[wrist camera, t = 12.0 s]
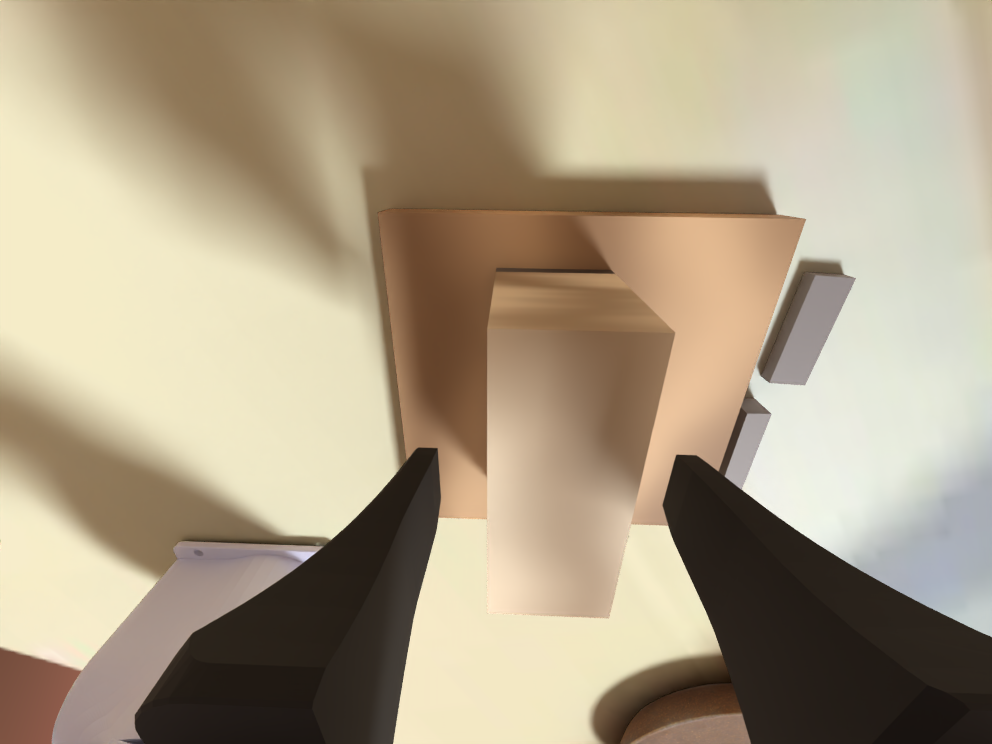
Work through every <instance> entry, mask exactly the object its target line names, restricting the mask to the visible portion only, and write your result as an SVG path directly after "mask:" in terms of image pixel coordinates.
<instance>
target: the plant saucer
mask: <svg viewBox="0 0 992 744" xmlns="http://www.w3.org/2000/svg"><path fill="white" fill-rule="evenodd" d="M620 744H751V742H750V739H749V735H748V732H747V729H746V725H745V722H744V719H743V715H742V712H741V709H740V706H739V703H738V700H737V697H736V693H735V690H734V687H733V684H732V683H720V684H710V685H703V686H697V687H692V688H687V689H684V690H680V691H677V692H674V693H671V694H668V695H666V696H664V697H661V698H659V699H657V700H655V701H653V702H652V703H650V704H648V705H647V706H645V707H644V708H643V709H641V710H640V711H639V712H638V713H637V714H636V715H635V716H634V718H633V719H632V720H631V722H630V723H629V725H628V727H627V729H626V731H625V733H624V735H623V737H622V740H621V742H620Z"/></svg>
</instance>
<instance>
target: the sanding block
mask: <svg viewBox="0 0 992 744" xmlns="http://www.w3.org/2000/svg"><path fill="white" fill-rule="evenodd" d="M674 337H675V332H674V331H673V330H672V329H671V328H670V327H669V326H668V325H667V324H666V323H665V322H664V321H663V320H662V319H661V318H660V317H659V316H658V315H657V314H656V313H655V312H654V311H653V310H652V309H651V308H650V307H649V306H648V305H647V304H646V303H645V302H644V301H642V300H641V299H640V298H639V297H638V296H637V295H636V294H635V293H634V292H633V291H632V290H631V289H630V288H629V287H628V286H627V285H626V284H625V283H624V282H623V281H622V280H621V279H620V278H619V277H618V276H617V275H616V274H615V273H614V272H613V271H612V270H590V269H535V268H496V274H495V281H494V287H493V294H492V300H491V307H490V314H489V320H488V327H487V613H490V614H515V615H540V616H565V617H589V618H609V616H610V612H611V607H612V603H613V599H614V594H615V590H616V586H617V582H618V577H619V573H620V569H621V564H622V560H623V556H624V551H625V547H626V543H627V539H628V534H629V530H630V526H631V521H632V517H633V513H634V509H635V504H636V500H637V496H638V491H639V487H640V483H641V479H642V474H643V470H644V466H645V461H646V457H647V453H648V449H649V444H650V440H651V436H652V431H653V427H654V423H655V419H656V414H657V410H658V406H659V401H660V397H661V393H662V389H663V384H664V380H665V376H666V371H667V367H668V363H669V358H670V354H671V350H672V346H673V341H674Z"/></svg>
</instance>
